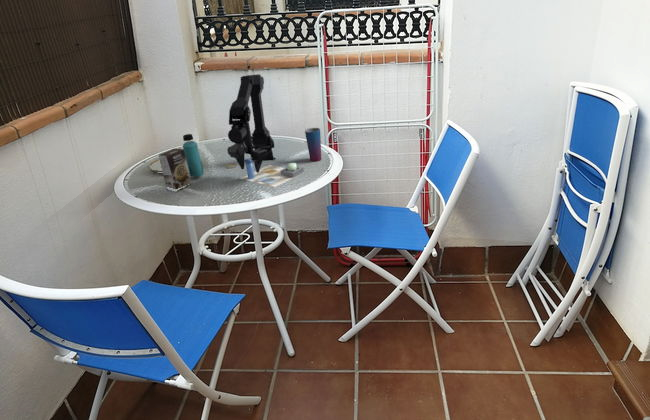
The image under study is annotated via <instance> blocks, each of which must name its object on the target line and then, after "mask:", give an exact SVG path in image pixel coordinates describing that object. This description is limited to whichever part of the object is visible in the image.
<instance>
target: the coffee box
mask: <svg viewBox="0 0 650 420" xmlns="http://www.w3.org/2000/svg"><path fill="white" fill-rule="evenodd" d="M158 159H160V164H161V168H162V172H163V174H162V175H163V179H164V183H165V187H169V188H173V189H178V188H181V187H183V186H185V185H188V184H190V183H192V184H193V182H192V179H191V178H192V177H191V176H190V173H189V169H188V165H187V160H186V156H185V152H184V149H183V148H172V149H169V150H167V151H165V152H162V153H160V154H158ZM188 186H189V185H188Z"/></svg>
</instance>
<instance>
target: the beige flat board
mask: <svg viewBox="0 0 650 420" xmlns="http://www.w3.org/2000/svg"><path fill="white" fill-rule="evenodd" d="M285 168H286V167H281V166H276V165H271V164H269V165H266V166H264V167H261V168H260V170H259V172H258V173H257V172H256V171H254V176H255V178H253V179H248V174H247V175H245V176H243V177H241V178H240V180H241V181H248V182H252V183H255V184H259V185H265V186H269V187H271V188H272V187H274V188H277V187H278V186H281V185H282V184H284V183H286V182H288V181H290V180H292V179H294V178H295V177H297V176H299V175H297V176H295V177H294V178H293V177H288V176H283V175H281V170H283V169H285Z"/></svg>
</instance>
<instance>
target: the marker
mask: <svg viewBox="0 0 650 420" xmlns="http://www.w3.org/2000/svg"><path fill="white" fill-rule="evenodd" d="M251 159H252V158H244V164H245V169H246V173H247V175H248V179H253V178H255V176H254V172H255V171H254V166H253V161H252V160H251Z"/></svg>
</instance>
